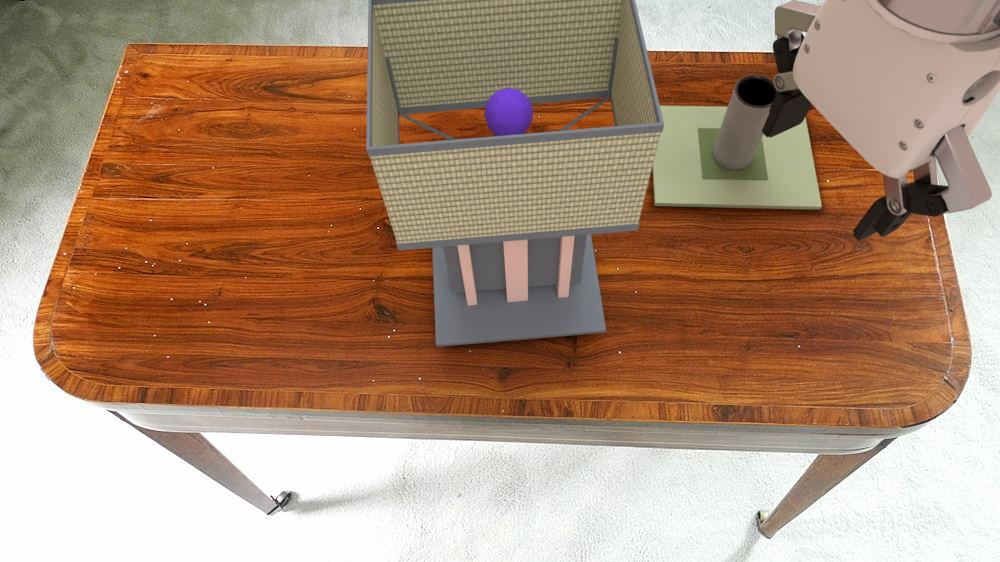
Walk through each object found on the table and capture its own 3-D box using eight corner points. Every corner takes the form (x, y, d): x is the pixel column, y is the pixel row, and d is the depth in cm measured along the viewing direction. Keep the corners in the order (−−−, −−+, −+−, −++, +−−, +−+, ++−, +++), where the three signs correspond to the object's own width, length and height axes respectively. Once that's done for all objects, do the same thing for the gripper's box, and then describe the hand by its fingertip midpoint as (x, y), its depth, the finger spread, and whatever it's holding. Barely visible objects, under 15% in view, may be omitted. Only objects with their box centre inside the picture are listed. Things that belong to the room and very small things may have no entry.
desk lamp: (430, 355, 73) (366, 153, 44) (426, 235, 80) (368, -8, 51) (611, 339, 73) (665, 128, 44) (592, 222, 80) (628, -29, 51)
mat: (802, 111, 86) (804, 107, 86) (820, 209, 80) (822, 206, 79) (648, 108, 87) (649, 104, 87) (654, 206, 81) (655, 202, 80)
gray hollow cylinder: (708, 164, 82) (730, 102, 73) (716, 134, 84) (738, 70, 75) (749, 174, 81) (776, 112, 72) (755, 143, 83) (783, 79, 74)
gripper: (1161, 52, 32) (958, 250, 47) (891, -153, 39) (790, 74, 54) (1032, 116, 30) (865, 298, 46) (777, -109, 38) (706, 111, 53)
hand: (825, 176), depth 50 cm, fingers open, 9 cm apart
